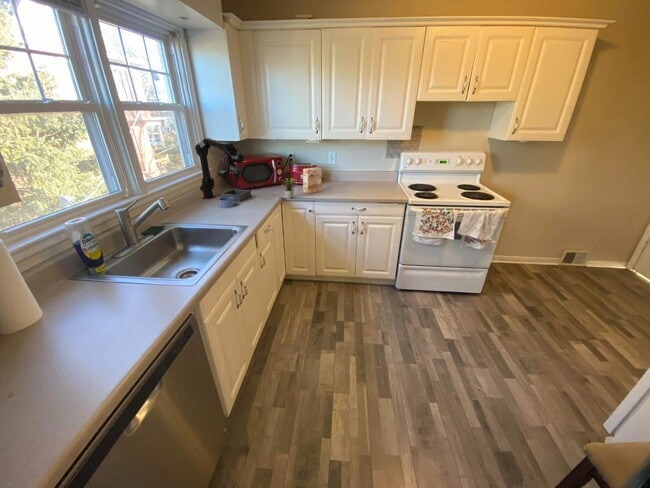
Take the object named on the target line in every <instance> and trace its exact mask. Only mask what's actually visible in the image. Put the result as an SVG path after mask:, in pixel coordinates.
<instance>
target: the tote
mask: <svg viewBox="0 0 650 488" xmlns="http://www.w3.org/2000/svg"><path fill="white" fill-rule="evenodd" d="M222 197H232V198H233V199H234V202H238V203H241V202H244V201H246V200H247V199H250V198H252V191H251V190H248V189H237V188H232V189H229V190H227V191H224V192H222V193H221V198H222Z"/></svg>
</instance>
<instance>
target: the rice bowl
mask: <svg viewBox="0 0 650 488" xmlns="http://www.w3.org/2000/svg"><path fill="white" fill-rule="evenodd" d="M218 205H219V208H224V209H226V208H232V207H234V206H235V201H234V199H233V198H232V197H222V196H221V197H219V198H218Z"/></svg>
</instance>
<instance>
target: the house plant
mask: <svg viewBox="0 0 650 488" xmlns="http://www.w3.org/2000/svg"><path fill="white" fill-rule="evenodd" d="M282 182H283V184H282V186H283V187H284V194H285V195H284V196H285V198H286V199H287V200H289V199H293V198H294V189H295V188H296V186H297V185H298V181H297V179H296V180H295V178H293V177H291V178H290V179H289V178H288V177H286V178H285V179H282ZM293 188H294V189H293Z"/></svg>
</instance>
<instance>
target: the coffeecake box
mask: <svg viewBox="0 0 650 488" xmlns="http://www.w3.org/2000/svg"><path fill="white" fill-rule="evenodd" d="M322 181H323V168H322V167H317V166H316V167H306V168H302V186H303V187H302V188H303V189H302V190H303V191H302V193H304V194H309V195H310V194H313V193H320V192H322V191H323V189H322V188H323V187H322V186H323V185H322V184H323V183H322Z"/></svg>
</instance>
